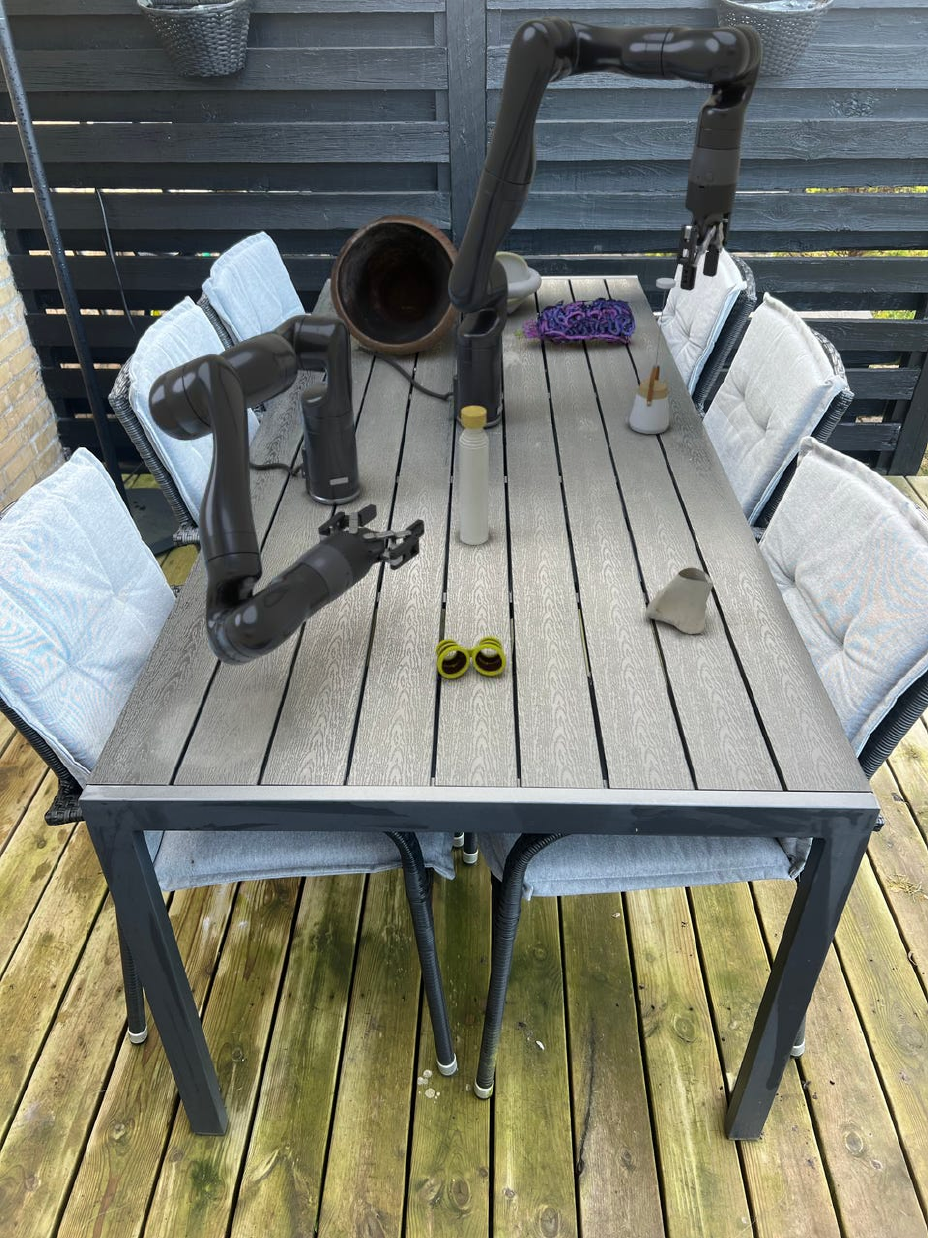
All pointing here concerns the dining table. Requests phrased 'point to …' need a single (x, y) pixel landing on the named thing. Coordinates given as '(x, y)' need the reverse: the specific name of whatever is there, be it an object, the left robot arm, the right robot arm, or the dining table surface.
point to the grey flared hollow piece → (683, 601)
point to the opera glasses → (462, 658)
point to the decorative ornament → (582, 322)
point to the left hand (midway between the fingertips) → (397, 517)
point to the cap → (473, 417)
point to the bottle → (474, 486)
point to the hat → (518, 279)
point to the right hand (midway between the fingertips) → (698, 282)
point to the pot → (395, 284)
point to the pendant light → (652, 393)
